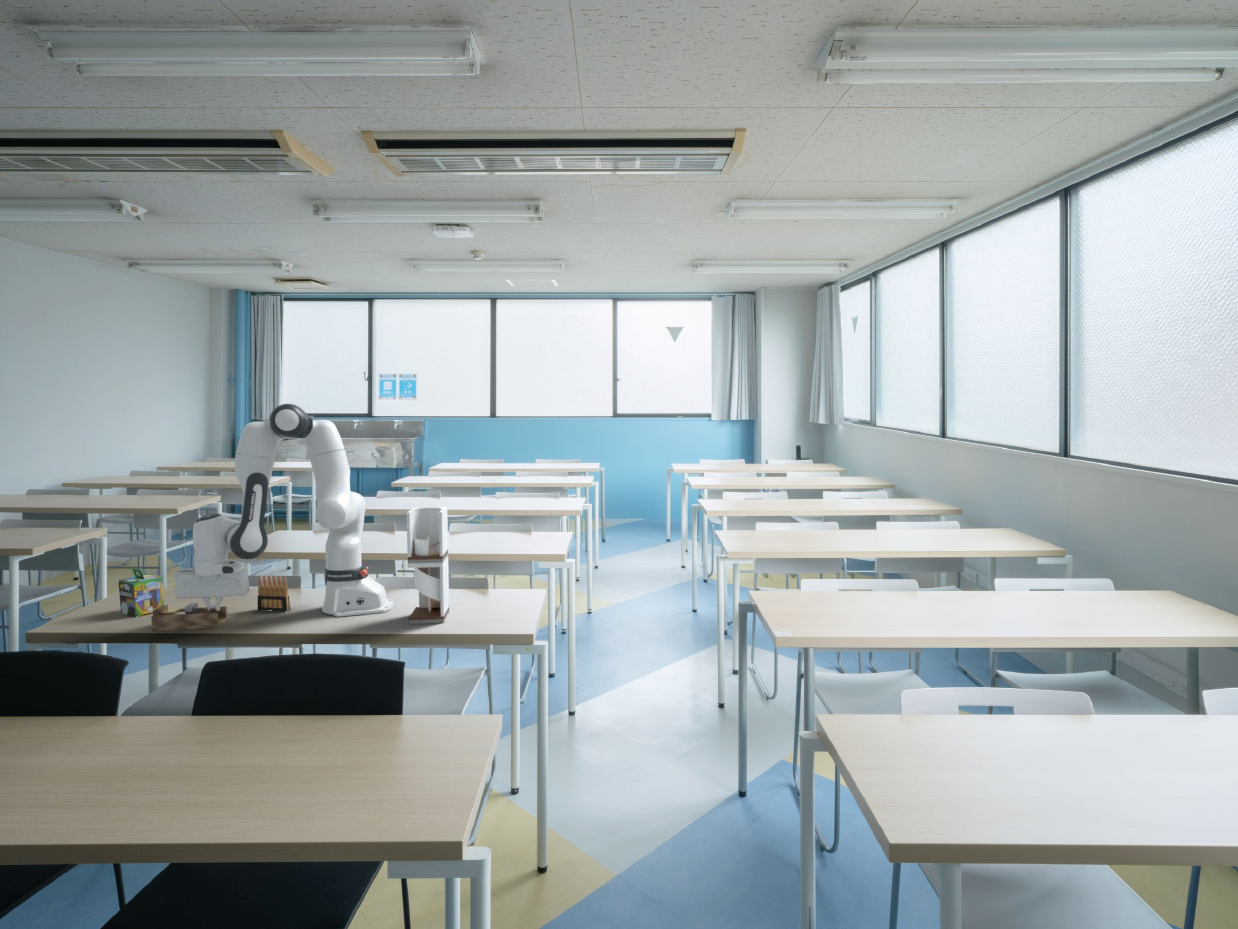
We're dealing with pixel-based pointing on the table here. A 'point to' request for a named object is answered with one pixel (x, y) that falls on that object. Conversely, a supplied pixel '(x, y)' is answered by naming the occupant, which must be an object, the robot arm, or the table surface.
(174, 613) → the spacer
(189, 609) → the grey metal block
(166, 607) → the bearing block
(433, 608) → the spiral staircase model
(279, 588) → the ammunition clip
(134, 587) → the chalk box
